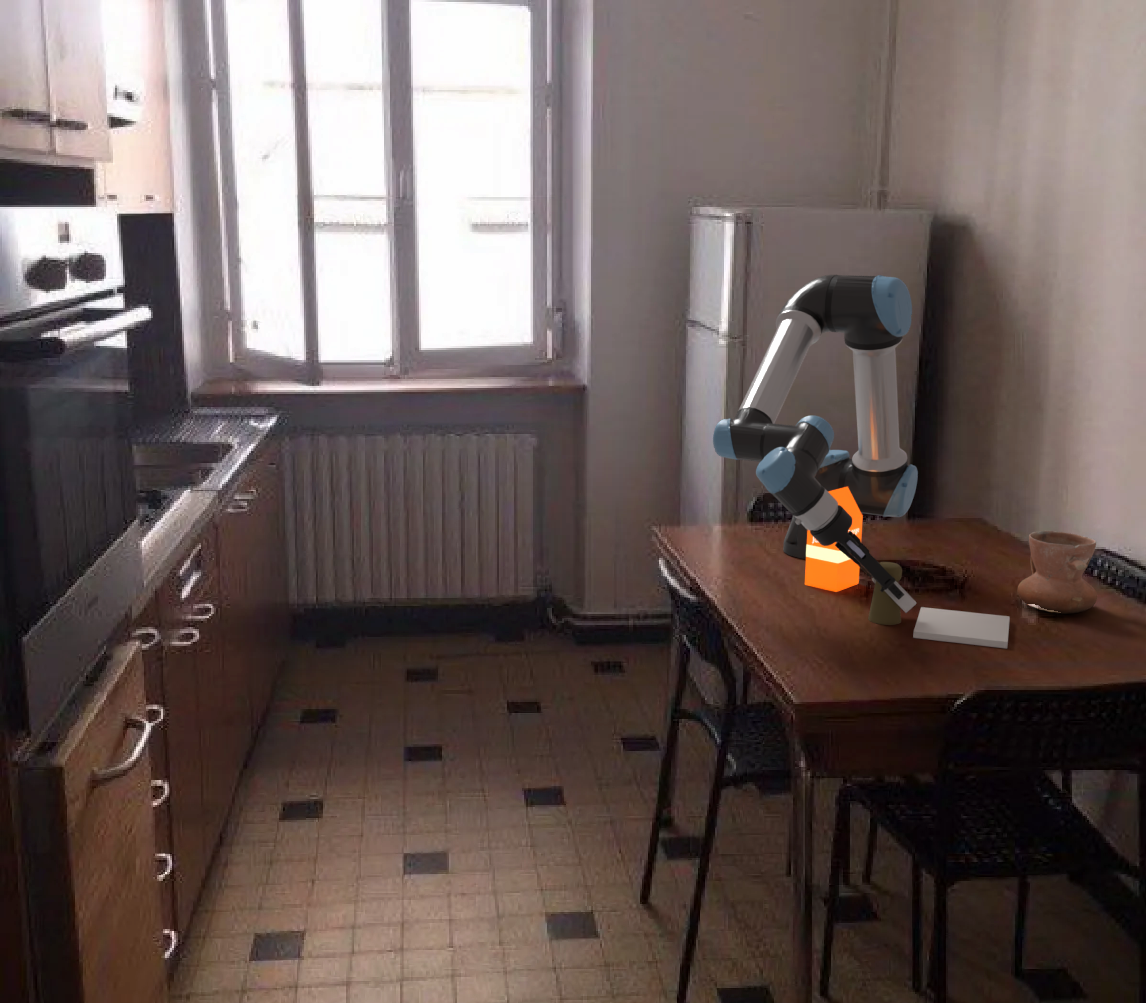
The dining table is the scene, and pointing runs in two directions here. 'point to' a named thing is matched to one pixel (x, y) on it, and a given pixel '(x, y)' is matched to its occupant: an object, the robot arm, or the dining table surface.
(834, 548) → the orange juice
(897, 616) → the cork
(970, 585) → the dining table surface
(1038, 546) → the ceramic jug
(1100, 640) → the dining table surface
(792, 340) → the robot arm
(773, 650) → the dining table surface
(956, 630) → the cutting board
